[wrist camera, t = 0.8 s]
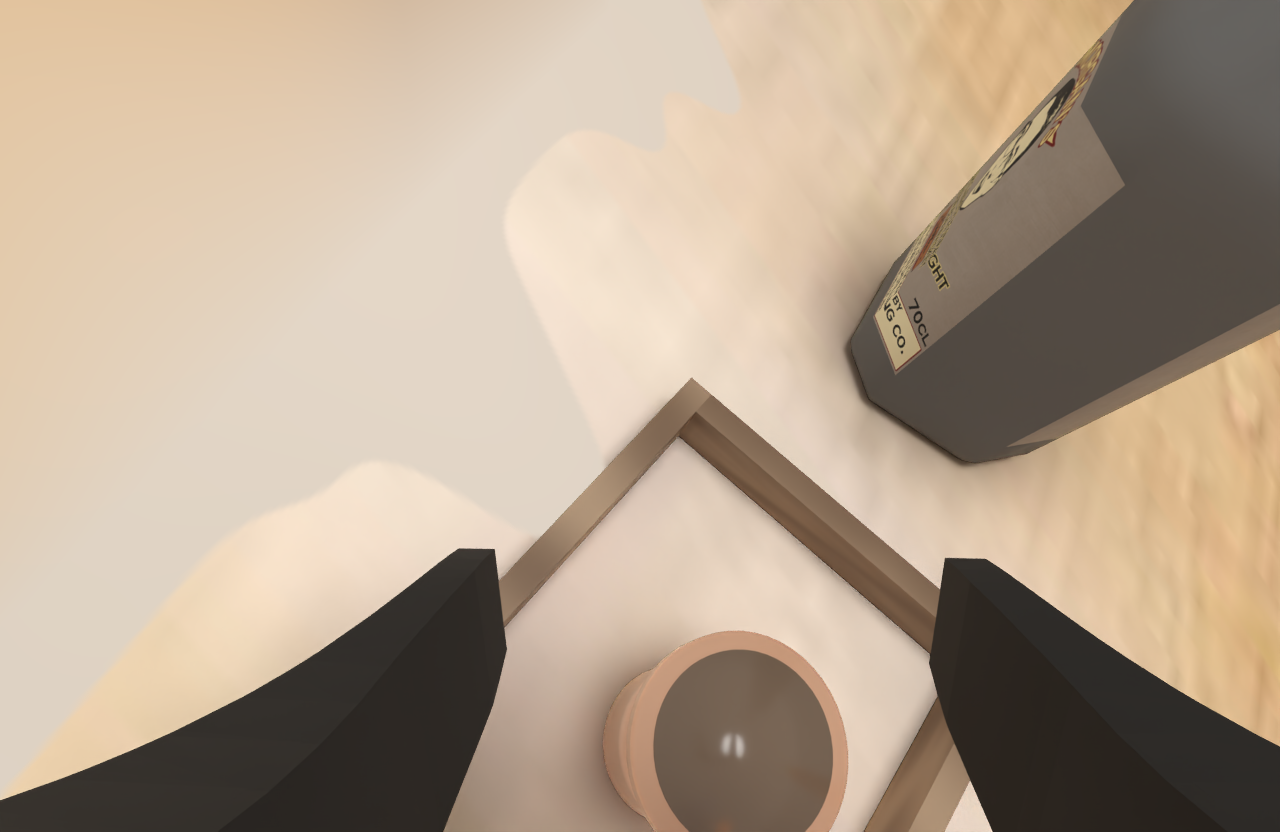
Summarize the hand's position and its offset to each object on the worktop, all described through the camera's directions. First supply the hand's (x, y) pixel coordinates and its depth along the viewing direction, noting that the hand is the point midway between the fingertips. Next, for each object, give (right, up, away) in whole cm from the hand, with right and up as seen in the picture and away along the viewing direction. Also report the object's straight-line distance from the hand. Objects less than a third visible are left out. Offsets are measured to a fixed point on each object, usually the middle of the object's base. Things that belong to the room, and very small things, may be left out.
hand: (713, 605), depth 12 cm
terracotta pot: (0, -8, +13) cm, 16 cm away
